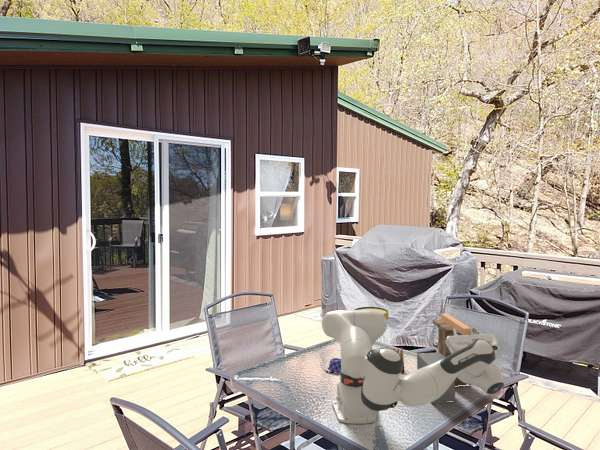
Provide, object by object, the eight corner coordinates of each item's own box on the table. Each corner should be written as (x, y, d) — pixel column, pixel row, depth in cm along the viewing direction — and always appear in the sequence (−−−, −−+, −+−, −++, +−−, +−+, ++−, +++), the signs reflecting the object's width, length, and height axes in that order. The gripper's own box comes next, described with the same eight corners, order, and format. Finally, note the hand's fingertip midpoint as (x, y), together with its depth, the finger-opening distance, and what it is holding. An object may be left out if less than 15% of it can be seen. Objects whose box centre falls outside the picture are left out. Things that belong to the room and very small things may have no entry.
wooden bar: (470, 335, 188) (470, 328, 188) (463, 335, 188) (463, 328, 188) (447, 319, 212) (447, 313, 212) (440, 320, 212) (440, 313, 212)
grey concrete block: (454, 401, 186) (454, 365, 185) (431, 403, 185) (430, 367, 184) (439, 385, 202) (439, 352, 201) (417, 387, 201) (417, 353, 200)
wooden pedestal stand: (471, 387, 199) (471, 328, 198) (444, 388, 198) (444, 330, 197) (455, 373, 215) (455, 318, 213) (431, 374, 214) (430, 320, 212)
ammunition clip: (402, 370, 220) (402, 346, 219) (404, 372, 218) (404, 347, 217) (381, 372, 218) (381, 348, 217) (382, 374, 216) (382, 349, 215)
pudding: (329, 364, 231) (329, 354, 231) (352, 367, 226) (351, 357, 226) (320, 373, 220) (320, 362, 220) (344, 376, 215) (344, 365, 215)
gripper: (450, 361, 180) (438, 335, 192) (500, 359, 182) (485, 333, 193) (454, 351, 177) (441, 324, 188) (504, 348, 178) (489, 322, 190)
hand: (464, 329), depth 191 cm, fingers open, 7 cm apart
